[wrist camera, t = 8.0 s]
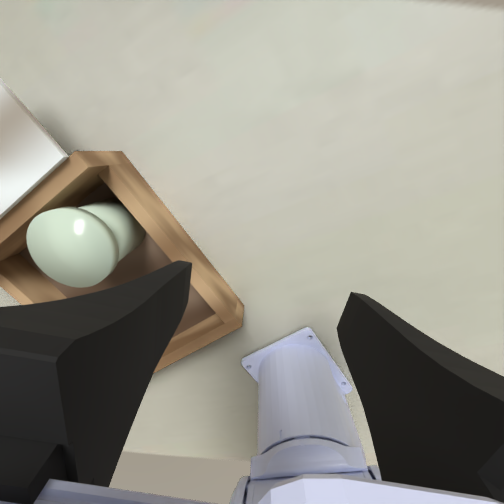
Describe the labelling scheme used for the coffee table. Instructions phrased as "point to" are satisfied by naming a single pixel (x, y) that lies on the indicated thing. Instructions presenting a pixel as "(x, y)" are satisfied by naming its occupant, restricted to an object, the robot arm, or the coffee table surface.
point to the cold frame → (86, 192)
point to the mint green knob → (83, 241)
